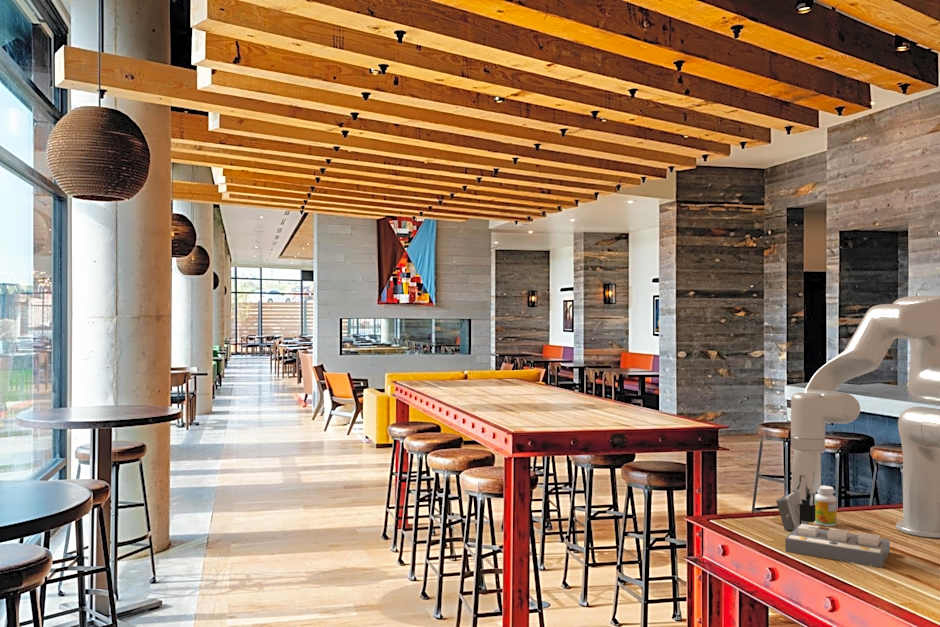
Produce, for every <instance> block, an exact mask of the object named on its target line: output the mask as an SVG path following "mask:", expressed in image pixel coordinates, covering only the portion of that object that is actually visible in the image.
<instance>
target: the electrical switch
mask: <svg viewBox="0 0 940 627" xmlns="http://www.w3.org/2000/svg"><path fill="white" fill-rule="evenodd" d="M775 503H776V505H777V509H778V512H779V515H780V519H781V522H782V525H783V528H784V531H785V530H787V531H793V530H794V529H795V528H796V527H797V526H800V525H801V524H806V525H810V524H809V523H810V522H806V521H801V520H800V491H799V490H797V491H796V492H795V493H794V492H792V491H791V493H789V494H784V495H783V496H781V497H780V498H778V499H776V502H775Z"/></svg>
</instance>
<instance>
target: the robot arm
mask: <svg viewBox="0 0 940 627" xmlns="http://www.w3.org/2000/svg"><path fill="white" fill-rule="evenodd" d="M896 339H904V340H905V339H907V340H908V341H909V344H910V346H909V347H910V359H909V372H908V392H909V394H910V396H911V397H912V398H913V399H915V400H917V401H921V402H925V403H931V404H939V405H940V295H915V296H913V295H911V296H910V295H909V296H905V297H904V296H903V297H899V298H898V299H896V300H895V301H894V302H893V303H885V304H884V303H883V304H877V305H873V306H872V307H870V308H868V310H867V311H866V312H865V314H864V316H863V318H862V319H861V321H860V323H859V325H858V326H857V328H856V330H855V332H854V333H853V335H852V337H851V338H850V340H849V341H848V343H847V345H846V347H845V348H844V350H843V351H842V352H841V353H839V354H837V355H835V356H834V357H833V358H831V359H830V360H829V361H827V362H826V363H825V364H823V365H822V366H821V367H820V368H818V369H817V370H816V372H815V373H814V374H813V375H812V377H811V378H810V380H809V382H808V383H807V385H806V386H805V389H804V390H803V392H795V393H793V395H792V396H791V398H790V450H791V451H793V456H792V466H791V486H790V487H791V489H790V490H791V493H792V492H794V493H795V492H796V491H797V490H798V491H799V493H800V520H801V521H806V522H809V523H815V522H814V521H815V505H814V504H815V495H816V494H817V490H818V489H819V488H820V486H821V482H822V462H821V461H822V459H821V458H822V457H821V454H824V453H825V452H826V424H827V423H832V424H840V425H843V424H849V423H852V422H854V421H855V420H856V419H857V418H858V417H859V415H860V413H861V406H860V402H859V400H857V398H856V397H855V396H853V395H851V394H850V393H846V392H842V391H836V390H837V388H839V387H840V386H842V385H843V383H845V382H847V381H849V380H851V379H854V378H856V377H860V376H863V375H865V374H869V373H871V372H873V371H875V370H877V369H878V368H879V366H880V365H881V363H883V360H884V358H885V357H886V355H887V353H888V351H889V350H890V348H891V346H892V344H893V343H894V341H895V340H896ZM897 428H898V434H899V438H900V443H901V449H902V451H901V452H902V500H903V501H902V514H903V516H902V519H901V520H899V521H897V522H896V524H895V527H896V529H897V530H898V531H901V532H903V533H906V534H908V535H913V536H918V537H924V538H934V539H935V538H938V539H940V409H939V408H935V407H928V406H912V407H908V408H906V409H904V410H903V411H902V412H901V413H900V415H899V417H898V420H897Z"/></svg>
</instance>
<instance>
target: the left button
mask: <svg viewBox="0 0 940 627" xmlns="http://www.w3.org/2000/svg"><path fill="white" fill-rule="evenodd" d="M819 529H820V525H811V524H809V525H806V524H801V525H800V526H799V527H798V534H799V535H806V536H812V537H817V536H818V535H819Z"/></svg>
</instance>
